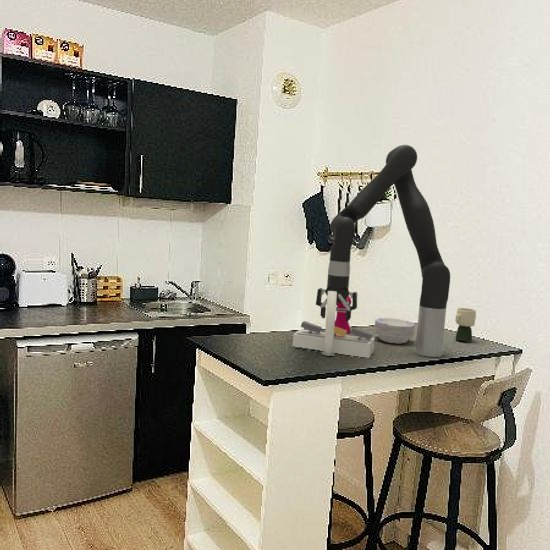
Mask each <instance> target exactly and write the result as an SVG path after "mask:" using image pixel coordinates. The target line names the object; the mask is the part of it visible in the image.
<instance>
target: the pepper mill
mask: <svg viewBox="0 0 550 550" xmlns="http://www.w3.org/2000/svg"><path fill="white" fill-rule="evenodd" d="M346 299H347V300H348V302H349V304H350V306H352V298H351V296H350V295H349V296H348V297H347V298H346ZM346 311H347V309H346V307H345V306H344V305H343V303H337V302H336V315H335V325H334V326H336V327H339V328H341V329H344V330H347V332H346V334H351V330H352V329H351V326H350V323H349V321H346Z"/></svg>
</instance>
